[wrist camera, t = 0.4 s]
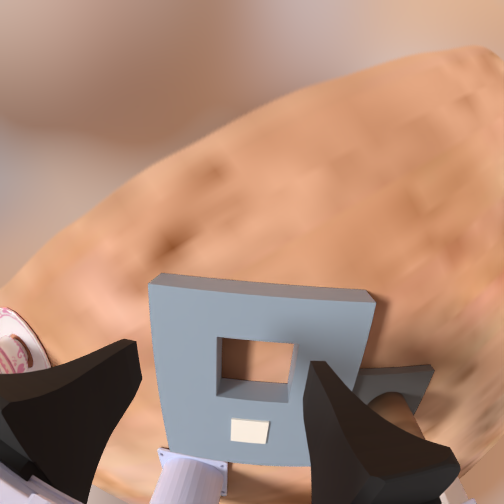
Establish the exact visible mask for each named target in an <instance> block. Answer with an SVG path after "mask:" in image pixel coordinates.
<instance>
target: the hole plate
mask: <svg viewBox="0 0 504 504" xmlns="http://www.w3.org/2000/svg"><path fill="white" fill-rule="evenodd" d="M148 292H149V308H150V322H151V333H152V343H153V352H154V361H155V369H156V376H157V383H158V390H159V396H160V403H161V408H162V414H163V420H164V425H165V430H166V435H167V440H168V445H169V449H170V452H175V453H179V454H184V455H189V456H194V457H199V458H205V459H211V460H218V461H225V462H233V463H242V464H253V465H267V466H311V463H310V456H309V450H308V444H307V438H306V432H305V426H304V420H303V395H304V390H305V385H306V380H307V375H308V370H309V365H310V361H326V362H327V364H328V365H329V366H330V367H331V368H332V369H333V371H334V372H335V373H336V374H337V375H338V377H339V378H340V379H341V380H342V381H343V382H344V384H345V385H346V386H347V387H348V388H349V389H350V390H351V391H352V390H353V387H354V384H355V381H356V378H357V374H358V371H359V368H360V364H361V361H362V358H363V354H364V351H365V347H366V343H367V339H368V336H369V332H370V328H371V324H372V319H373V315H374V311H375V306H376V302H375V301H374V299H373V298H372V297H371V296H370V295H369V294H368V292H367V291H366V290H358V289H341V288H326V287H311V286H297V285H284V284H271V283H259V282H248V281H236V280H225V279H215V278H205V277H195V276H185V275H176V274H166V273H161V274H160V275H158V276H157V277H156V278H154V279H153V280H152V281H151V282H149V283H148ZM222 337H224V338H233V339H243V340H253V341H265V342H278V343H293V344H294V348H293V354H292V360H291V366H290V372H289V378H288V384H285V383H269V382H257V381H246V380H237V379H228V378H222Z"/></svg>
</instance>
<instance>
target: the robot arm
mask: <svg viewBox="0 0 504 504" xmlns="http://www.w3.org/2000/svg"><path fill="white" fill-rule="evenodd" d="M141 381H142V374H141V369H140V363H139V357H138V350H137V343H136V341H132V340H127V339H122V340H119V341H117V342H114V343H112V344H110V345H108V346H106V347H103V348H101V349H99V350H97V351H95V352H92V353H90V354H88V355H86V356H83V357H81V358H78V359H75V360H73V361H70V362H68V363H65V364H62V365H59V366H55V367H51V368H48V369H43V370H37V371H32V372H25V373H13V374H0V504H87V501H88V496H89V492H90V488H91V485H92V481H93V478H94V475H95V472H96V469H97V466H98V463H99V461H100V458H101V456H102V453H103V451H104V449H105V446H106V444H107V442H108V440H109V437H110V436H111V434H112V432H113V430H114V429H115V427H116V426H117V424H118V422H119V421H120V419H121V418H122V416H123V414H124V413H125V411H126V410H127V408H128V407H129V405H130V403H131V402H132V400H133V398H134V397H135V395H136V392H137V390H138V388H139V386H140V383H141ZM303 420H304V426H305V432H306V438H307V444H308V450H309V456H310V463H311V482H312V504H442V502H441V499H440V496H441V494H442V493H443V492H444V491H445V490H446V489H447V488H448V487H449V486H450V485H451V484H452V483H453V482H454V480H455V479H456V478H457V476H458V474H459V472H460V465H459V463H458V461H457V459H456V457H455V455H454V454H453V452H452V450H451V449H450V447H447V446H443V445H440V444H437V443H433V442H430V441H427V440H425V439H422V438H420V437H417V436H415V435H413V434H411V433H409V432H407V431H405V430H403V429H401V428H399V427H397V426H396V425H394V424H392V423H390V422H389V421H387V420H386V419H384V418H383V417H381V416H380V415H379V414H377V413H376V412H375V411H373V410H372V409H371V408H369V407H368V406H367V405H366V404H365V403H364V402H363V401H361V400H360V399H359V398H358V397H357V396H356V395H355V394H354V393H353V392H352V391H351V390H350V389H349V388H348V387H347V386H346V385H345V384H344V382H343V381H342V380H341V379H340V378H339V377H338V375H337V374H336V373H335V372H334V371H333V369H332V368H331V367H330V366H329V365H328V364H327V362H326V361H310V365H309V370H308V375H307V380H306V385H305V390H304V395H303ZM157 451H158V455H159V458H160V462H161V465H162V469H163V470H162V472H161V475H160V477H159V480H158V482H157V485H156V488H155V490H154V493H153V495H152V498H151V500H150V503H149V504H219V500H220V496H227V472H228V462H225V461H218V460H211V459H205V458H199V457H194V456H189V455H184V454H179V453H175V452H170V450H168V449H164V448H158V450H157ZM461 504H477V503H476V501H475V499H474V498H472V499H470V500H468V501H465V502H463V503H461Z"/></svg>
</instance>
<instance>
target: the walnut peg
mask: <svg viewBox="0 0 504 504" xmlns="http://www.w3.org/2000/svg"><path fill="white" fill-rule="evenodd" d="M367 406H368V407H369V408H371V409H372V410H373V411H375V412H376V413H377V414H379V415H380V416H381V417H383V418H384V419H386V420H387V421H389V422H390V423H392V424H394V425H396V426H397V427H399V428H401V429H403V430H405V431H407V432H409V433H411V434H413V435H415V436H417V437H420V438H422V439H425V438H424V436H423V434H422V432H421V430H420V428H419V426H418V424H417V422H416V420H415V418H414V416H413V414H412V412H411V410H410V408H409V406H408V404H407V403H406V401H405V399H404V397H403V395H402V394H401V393H399V392H386V393H383V394H381V395H379V396H377V397H375V398H374V399H372V400H371V401H370V402H369V403H368V405H367Z"/></svg>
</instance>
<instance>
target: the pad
mask: <svg viewBox="0 0 504 504" xmlns="http://www.w3.org/2000/svg"><path fill="white" fill-rule="evenodd" d="M434 371H435V370H434V369H433V367H432V366H431V365H420V366H407V367H391V368H365V369H359V371H358V374H357V378H356V381H355V384H354V387H353V390H352V392H353V393H354V394H355V395H356V396H357V397H358V398H359V399H360V400H361V401H363V402H364V403H365V404H366V405H368V403H369V402H370V401H371V400H372V399H374V398H375V397H377V396H379V395H381V394H383V393H386V392H399V393H401V394H402V395H403V397H404V399H405V401H406V403H407V404H408V406H409V408H410V410H411V412H412V414H413V416H414V414H415V412H416V410H417V408H418V406H419V404H420V402H421V400H422V398H423V396H424V393H425V391H426V389H427V387H428V385H429V382H430V380H431V378H432V375H433V373H434Z"/></svg>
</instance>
